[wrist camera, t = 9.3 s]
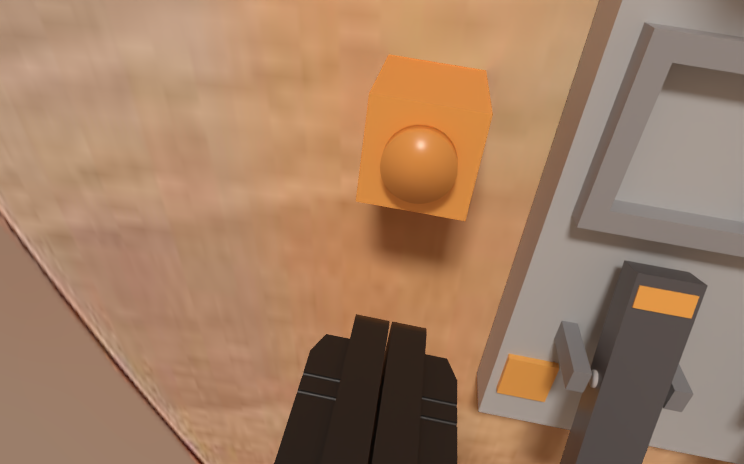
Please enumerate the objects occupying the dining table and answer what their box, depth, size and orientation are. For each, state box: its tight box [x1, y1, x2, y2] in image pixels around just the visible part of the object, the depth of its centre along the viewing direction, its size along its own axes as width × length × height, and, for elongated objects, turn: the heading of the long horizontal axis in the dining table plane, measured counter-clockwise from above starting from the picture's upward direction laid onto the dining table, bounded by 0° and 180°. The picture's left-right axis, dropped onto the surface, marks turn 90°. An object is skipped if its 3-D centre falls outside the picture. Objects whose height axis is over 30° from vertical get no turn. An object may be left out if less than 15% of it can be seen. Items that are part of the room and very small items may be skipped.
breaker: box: [560, 260, 708, 464], centre depth 24 cm, size 11×3×2 cm, turn 173°
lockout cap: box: [356, 55, 493, 221], centre depth 22 cm, size 4×4×7 cm
